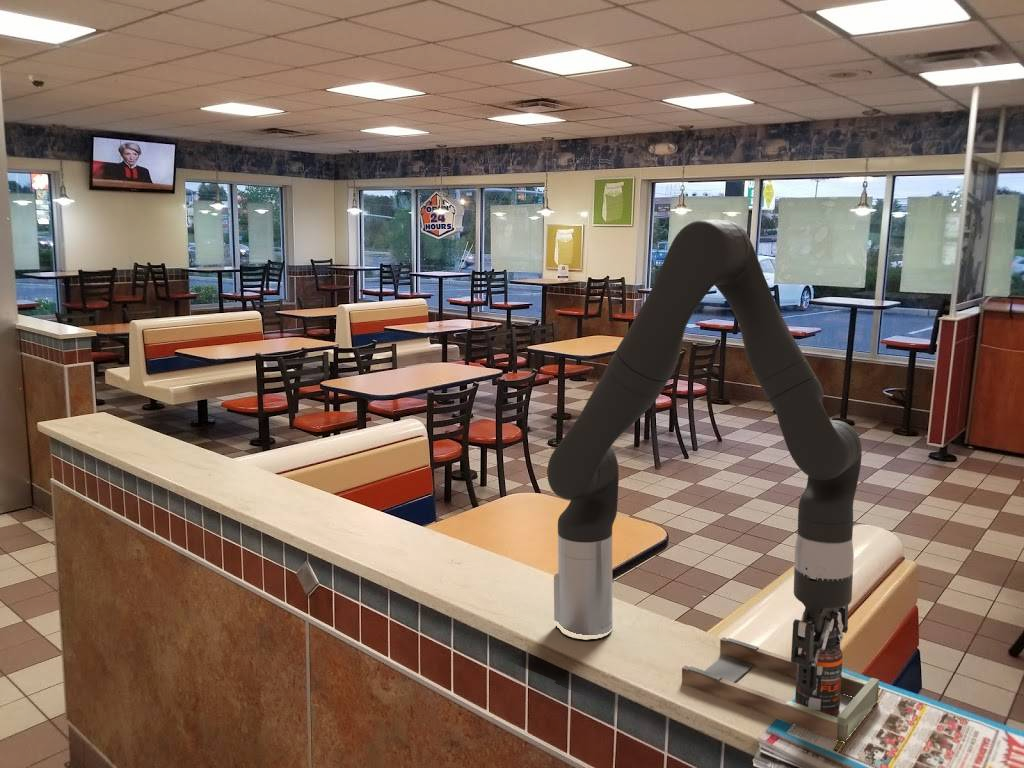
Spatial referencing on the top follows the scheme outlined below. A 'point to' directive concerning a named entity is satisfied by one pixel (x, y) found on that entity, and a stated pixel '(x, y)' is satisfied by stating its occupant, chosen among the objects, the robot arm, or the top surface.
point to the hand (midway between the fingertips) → (819, 676)
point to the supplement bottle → (824, 680)
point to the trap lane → (742, 660)
